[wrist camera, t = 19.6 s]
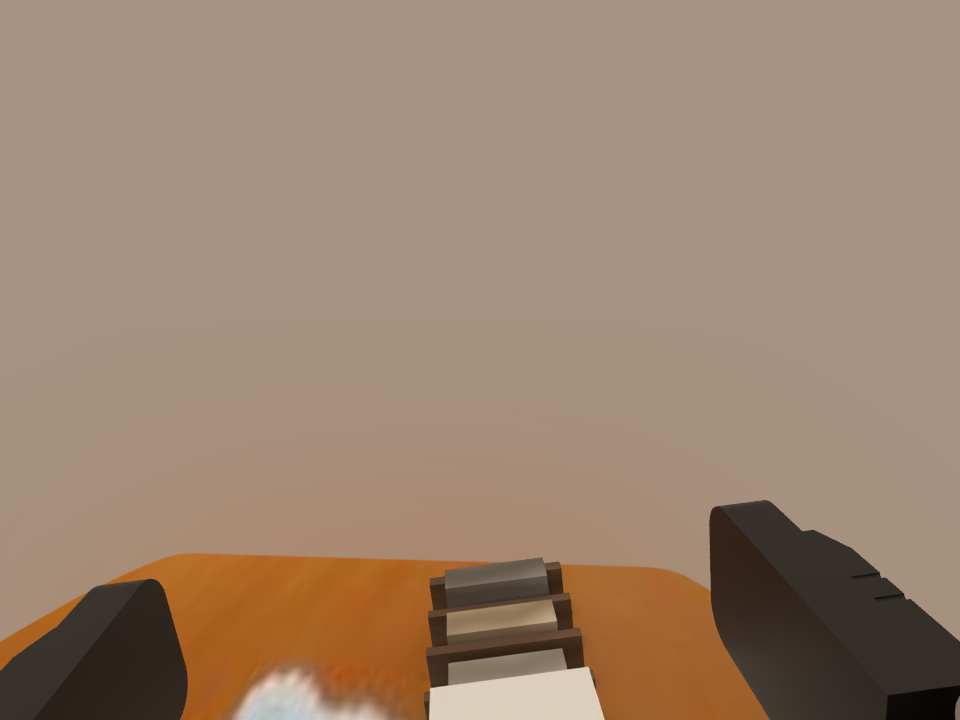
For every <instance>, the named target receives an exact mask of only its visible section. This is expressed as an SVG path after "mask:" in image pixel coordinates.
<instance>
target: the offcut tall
mask: <svg viewBox="0 0 960 720" xmlns="http://www.w3.org/2000/svg"><path fill="white" fill-rule="evenodd" d="M445 591H446V598H447V604H448V609H449V608H456V607H464V606H471V605H479V604H487V603H494V602H502V601H509V600H517V599H525V598H532V597H540V596H547V595H549V590H548V580H547V573H546V570H545V566H544V562H543V558H535V559H527V560H520V561H513V562H504V563H497V564H489V565H481V566H474V567H466V568H458V569H451V570H445Z"/></svg>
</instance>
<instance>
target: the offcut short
mask: <svg viewBox="0 0 960 720" xmlns="http://www.w3.org/2000/svg"><path fill="white" fill-rule="evenodd" d="M561 670H567V666H566V662H565V658H564V654H563V650H562V648H560V649H552V650H545V651H537V652H530V653H522V654H515V655H507V656H500V657H492V658H485V659H477V660H470V661H462V662H455V663H448V686H450V685H458V684H465V683H472V682H480V681H487V680H495V679H502V678H509V677H517V676H524V675H532V674H539V673H546V672H554V671H561Z"/></svg>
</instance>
